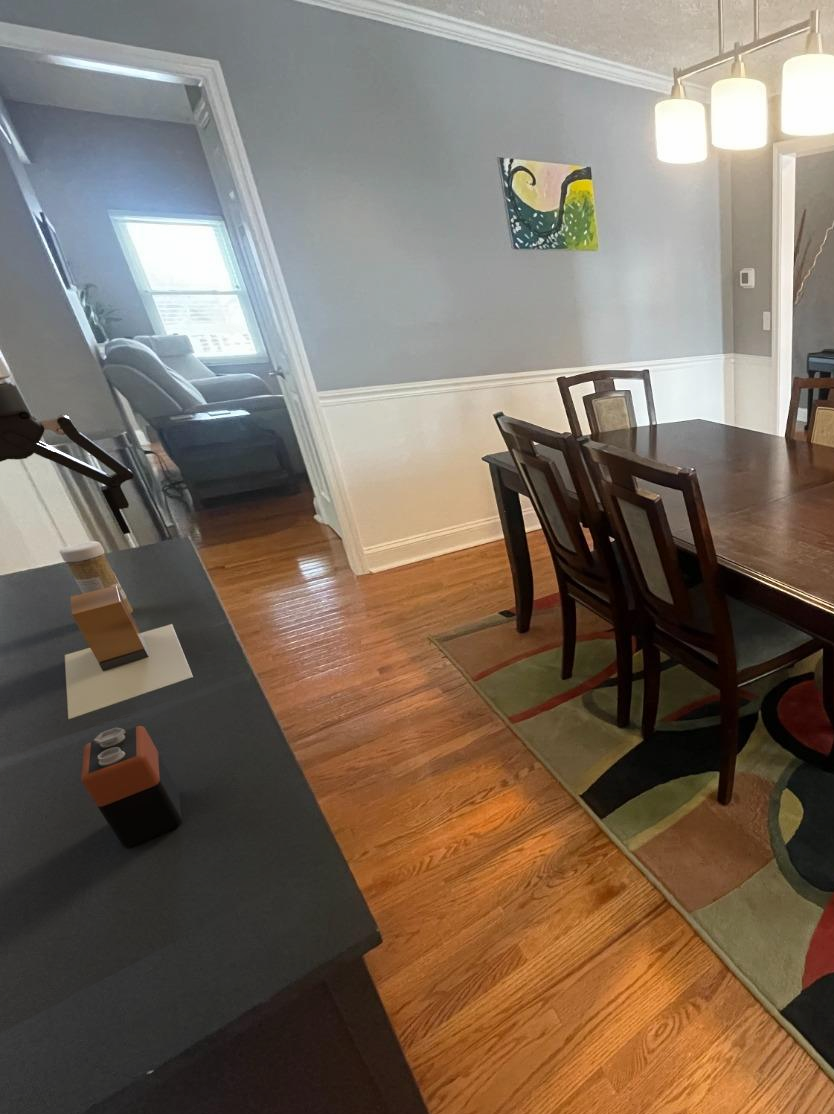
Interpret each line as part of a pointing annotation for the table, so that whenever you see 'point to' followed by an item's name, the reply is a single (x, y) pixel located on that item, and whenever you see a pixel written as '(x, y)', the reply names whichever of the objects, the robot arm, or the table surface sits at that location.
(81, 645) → the table surface
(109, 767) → the battery
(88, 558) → the sprinkles bottle
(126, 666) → the board
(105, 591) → the eraser
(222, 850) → the table surface
